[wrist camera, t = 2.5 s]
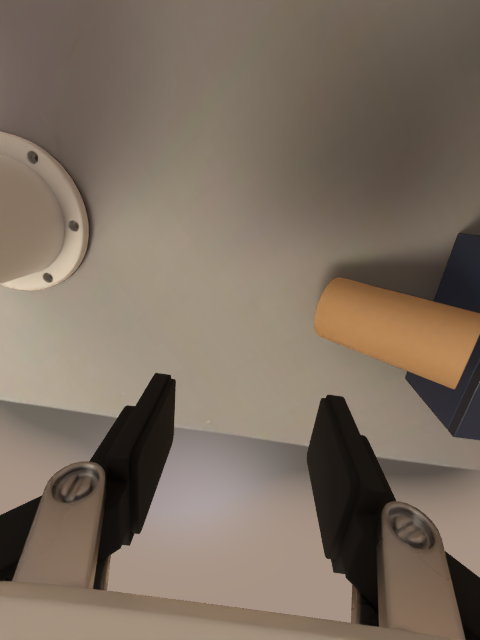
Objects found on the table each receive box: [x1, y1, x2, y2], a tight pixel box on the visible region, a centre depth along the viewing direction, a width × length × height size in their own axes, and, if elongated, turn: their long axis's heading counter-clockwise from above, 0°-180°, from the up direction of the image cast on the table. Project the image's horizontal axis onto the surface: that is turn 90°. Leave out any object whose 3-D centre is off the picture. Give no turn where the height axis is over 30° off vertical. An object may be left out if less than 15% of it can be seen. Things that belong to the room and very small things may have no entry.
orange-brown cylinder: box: [314, 277, 480, 389], centre depth 23 cm, size 11×5×10 cm, turn 84°
